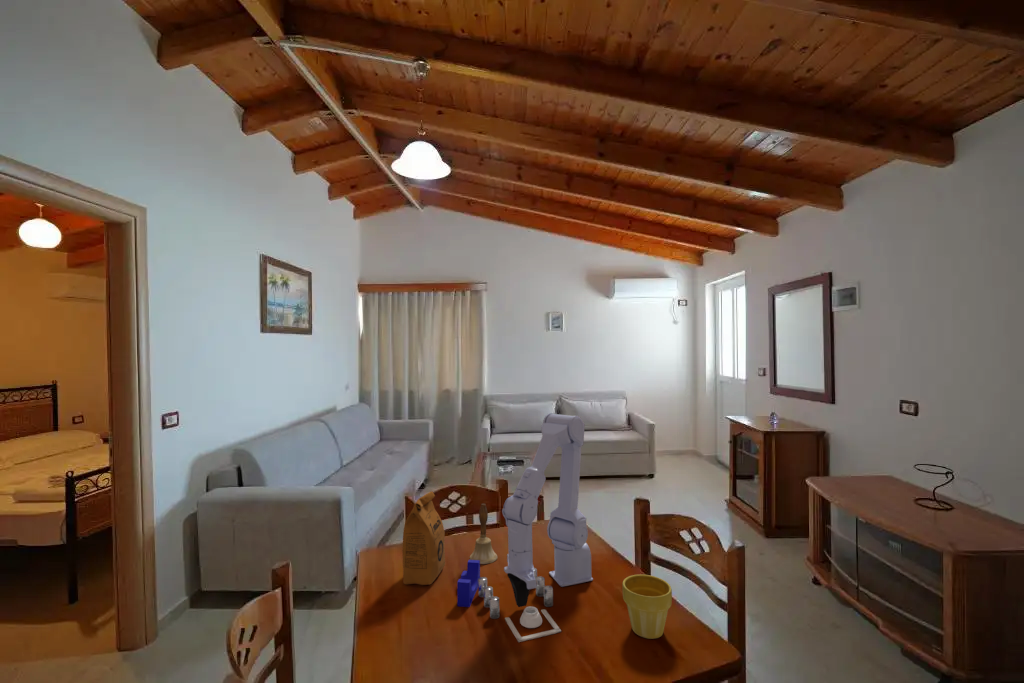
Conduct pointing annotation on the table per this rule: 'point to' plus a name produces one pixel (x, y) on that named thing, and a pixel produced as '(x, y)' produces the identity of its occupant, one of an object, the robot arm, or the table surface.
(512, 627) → the outline bay
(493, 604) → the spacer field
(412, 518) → the coffee package
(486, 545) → the hand bell
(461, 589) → the blue curved block
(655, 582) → the plant pot
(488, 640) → the table surface
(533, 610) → the white jar
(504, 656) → the table surface
